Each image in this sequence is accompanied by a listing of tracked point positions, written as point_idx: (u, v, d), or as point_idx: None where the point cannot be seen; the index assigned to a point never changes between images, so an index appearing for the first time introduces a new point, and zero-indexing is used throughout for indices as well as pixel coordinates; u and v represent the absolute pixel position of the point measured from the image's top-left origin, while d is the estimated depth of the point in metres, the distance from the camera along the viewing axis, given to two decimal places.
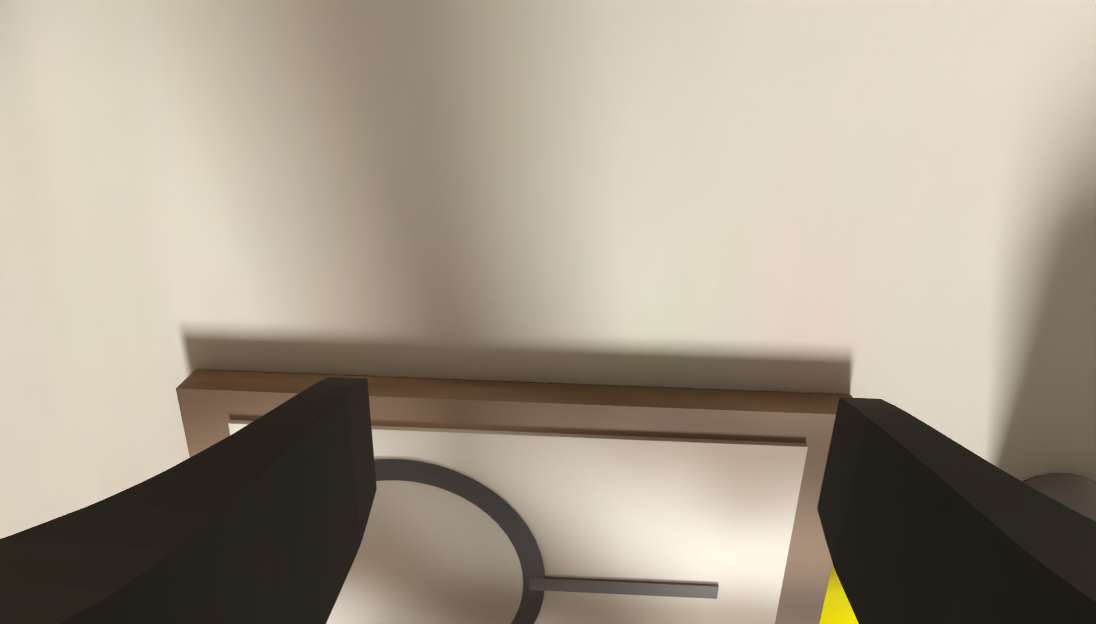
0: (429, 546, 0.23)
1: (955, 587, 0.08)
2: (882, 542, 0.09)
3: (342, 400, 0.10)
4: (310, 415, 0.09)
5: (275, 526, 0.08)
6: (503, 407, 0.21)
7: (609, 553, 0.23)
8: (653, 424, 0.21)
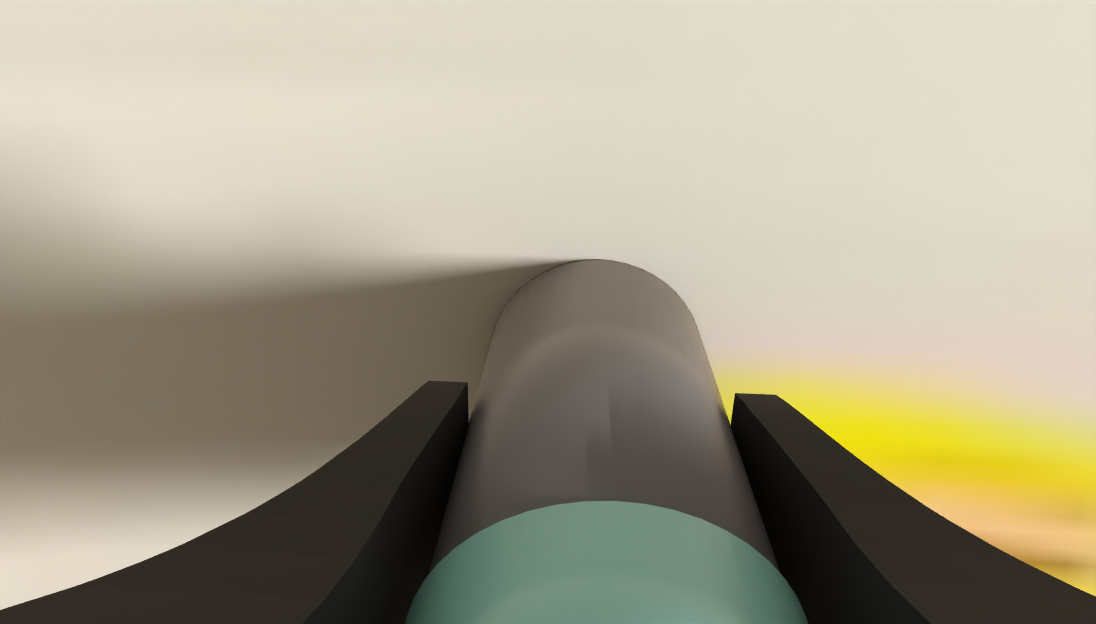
0: None
1: (810, 580, 0.08)
2: None
3: (454, 404, 0.10)
4: (428, 420, 0.09)
5: (410, 532, 0.08)
6: None
7: None
8: None
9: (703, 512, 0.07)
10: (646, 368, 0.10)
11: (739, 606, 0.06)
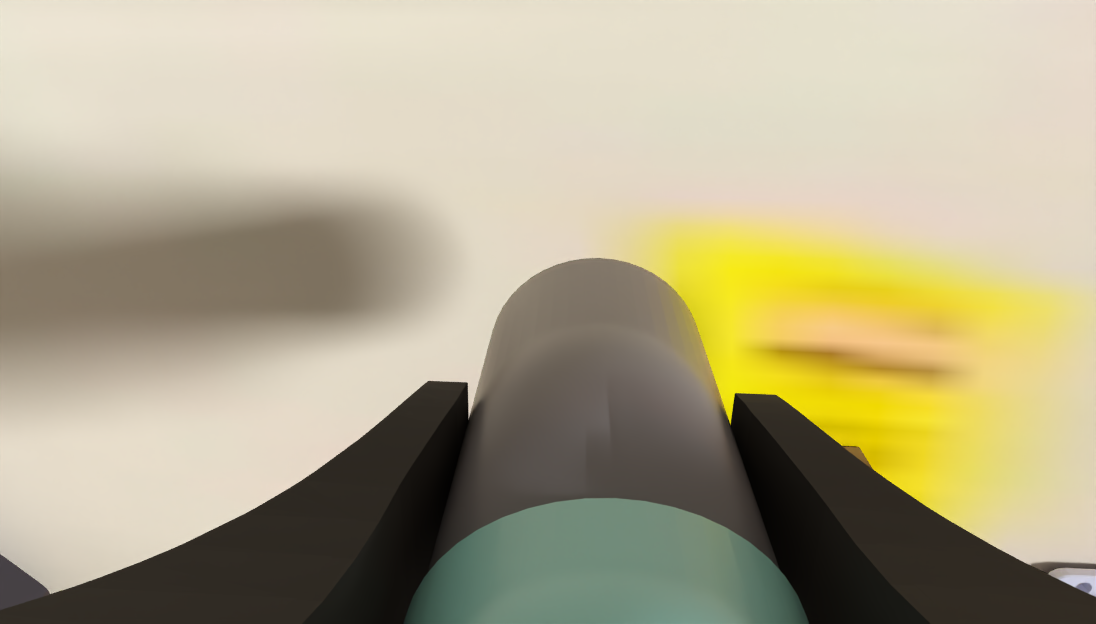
0: None
1: (810, 580, 0.08)
2: None
3: (454, 404, 0.10)
4: (428, 420, 0.09)
5: (410, 532, 0.08)
6: None
7: None
8: None
9: (703, 509, 0.07)
10: (645, 364, 0.10)
11: (739, 603, 0.06)
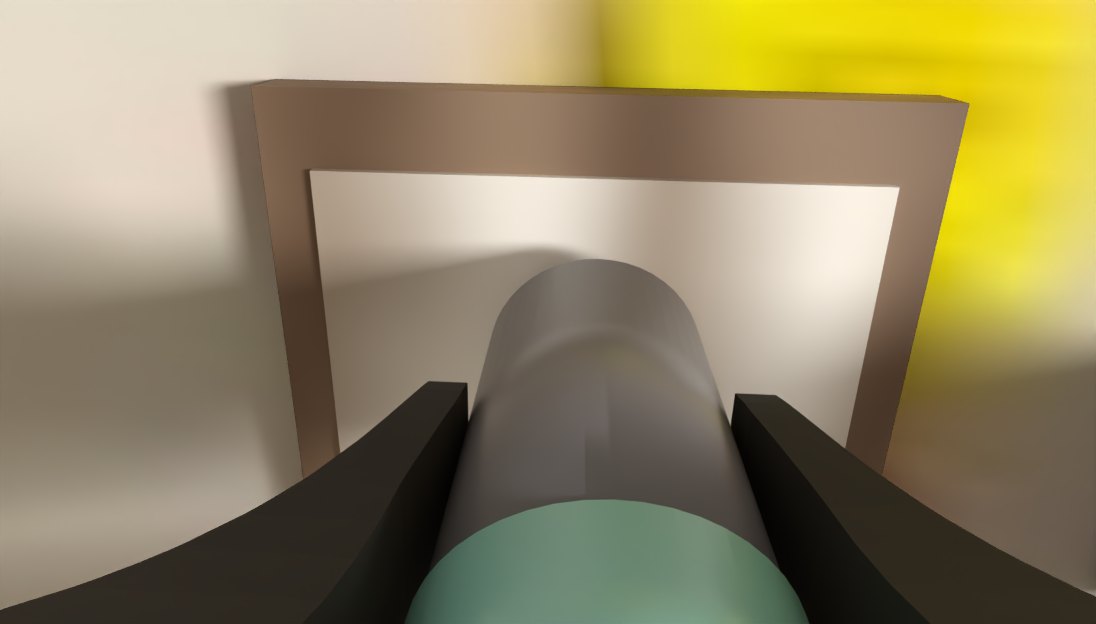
0: None
1: (810, 580, 0.08)
2: None
3: (454, 405, 0.10)
4: (428, 420, 0.09)
5: (410, 532, 0.08)
6: None
7: None
8: (315, 374, 0.16)
9: (702, 509, 0.07)
10: (644, 366, 0.10)
11: (738, 603, 0.06)
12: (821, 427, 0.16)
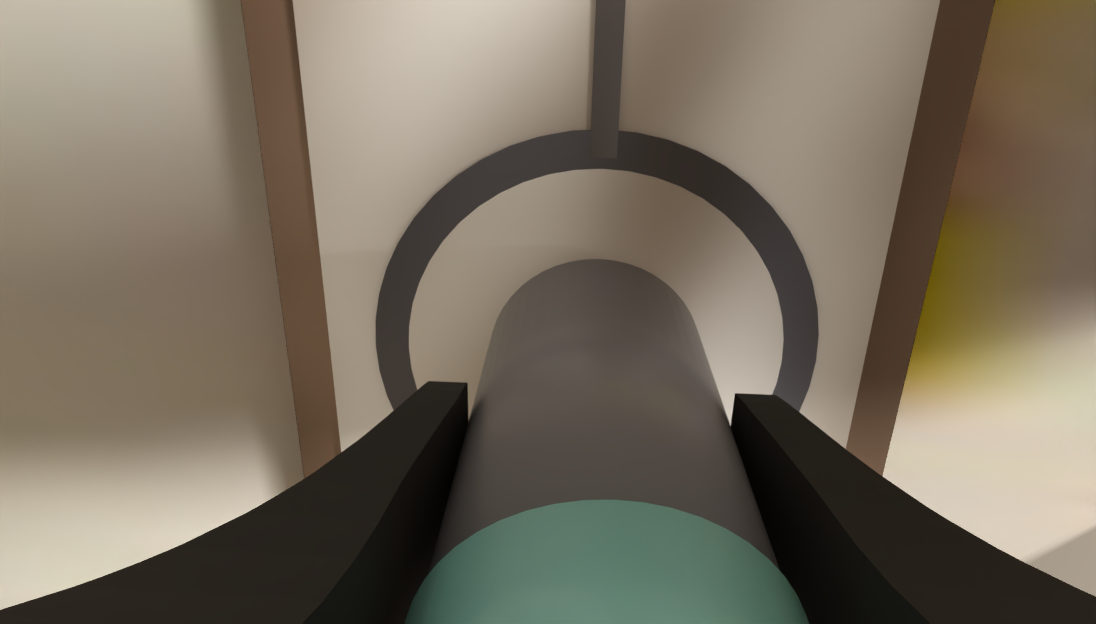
0: None
1: (810, 580, 0.08)
2: None
3: (454, 405, 0.10)
4: (428, 420, 0.09)
5: (410, 532, 0.08)
6: (275, 187, 0.14)
7: (534, 8, 0.13)
8: None
9: (702, 510, 0.07)
10: (644, 366, 0.10)
11: (738, 604, 0.06)
12: None
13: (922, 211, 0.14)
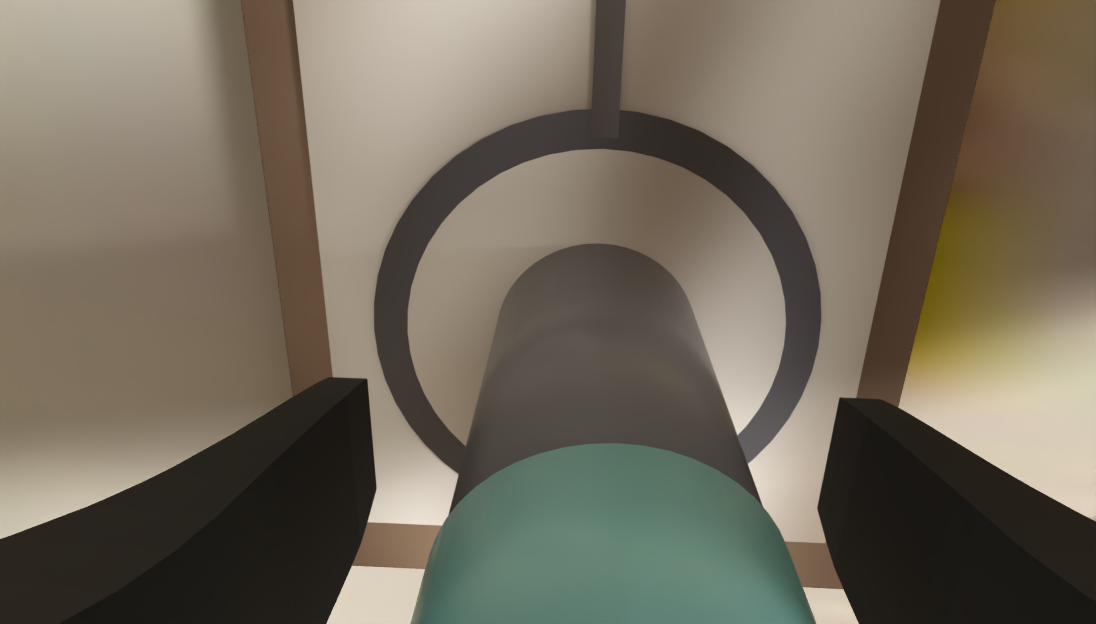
0: None
1: (955, 587, 0.08)
2: (882, 542, 0.09)
3: (342, 400, 0.10)
4: (310, 415, 0.09)
5: (275, 526, 0.08)
6: (273, 168, 0.14)
7: None
8: None
9: (695, 455, 0.08)
10: (642, 336, 0.10)
11: (725, 527, 0.07)
12: None
13: (926, 192, 0.14)
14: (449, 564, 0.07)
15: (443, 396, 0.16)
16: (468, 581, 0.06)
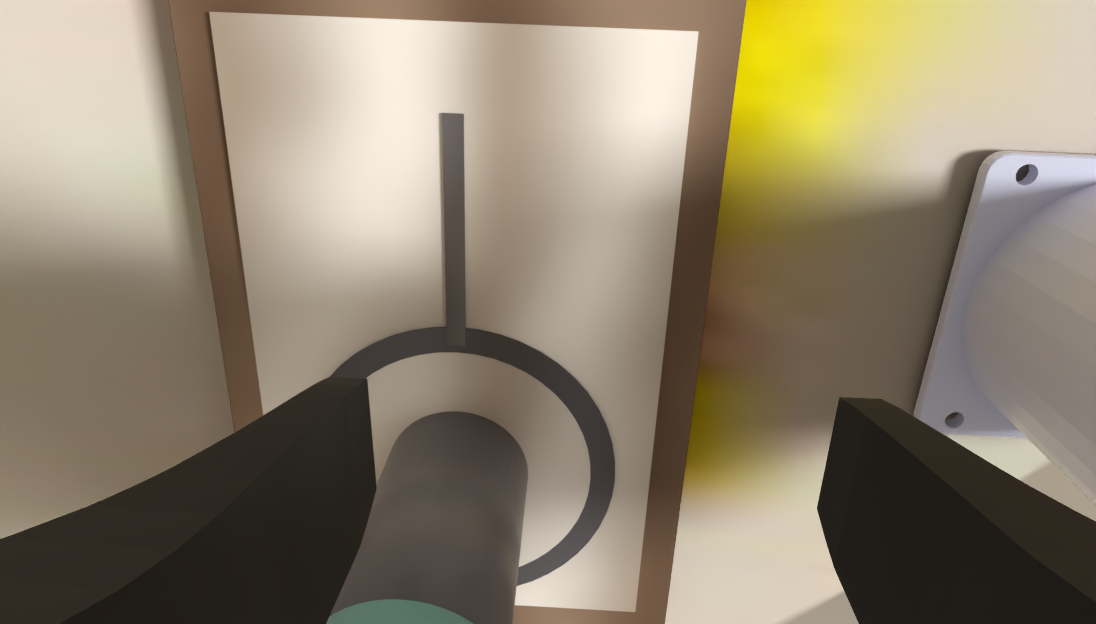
0: None
1: (955, 587, 0.08)
2: (883, 542, 0.09)
3: (342, 400, 0.10)
4: (310, 415, 0.09)
5: (275, 526, 0.08)
6: (229, 356, 0.20)
7: (404, 252, 0.19)
8: (221, 202, 0.19)
9: (449, 602, 0.14)
10: (453, 506, 0.17)
11: None
12: (650, 251, 0.18)
13: (680, 381, 0.20)
14: None
15: None
16: None
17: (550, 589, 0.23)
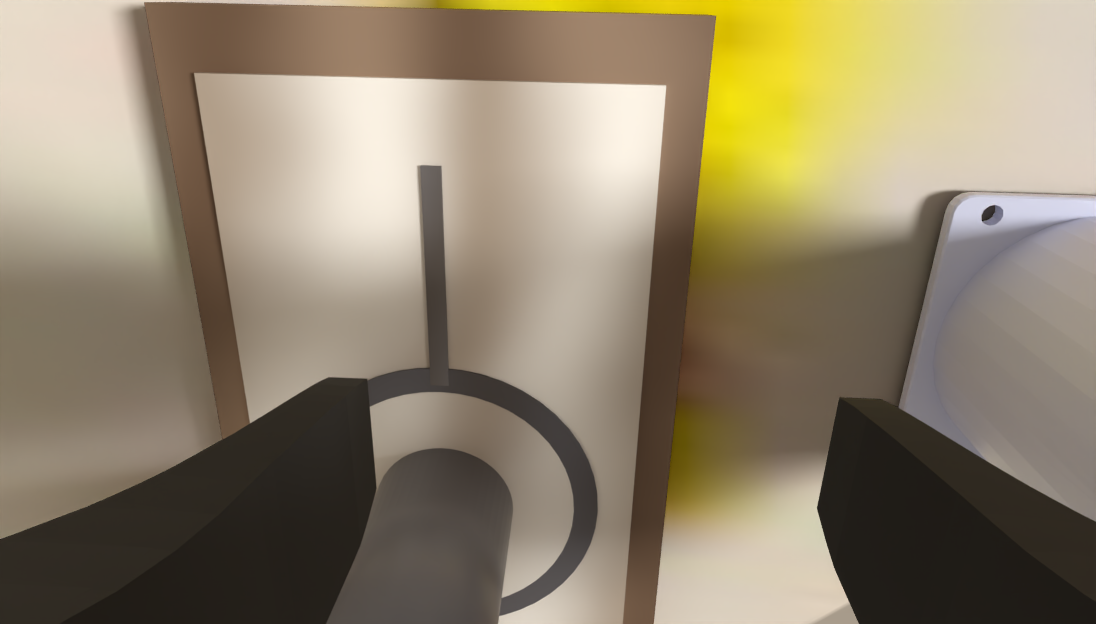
0: None
1: (955, 587, 0.08)
2: (882, 542, 0.09)
3: (342, 400, 0.10)
4: (310, 415, 0.09)
5: (275, 526, 0.08)
6: (221, 396, 0.21)
7: (387, 297, 0.19)
8: (210, 251, 0.19)
9: None
10: (434, 547, 0.17)
11: None
12: (626, 294, 0.19)
13: (659, 417, 0.21)
14: None
15: None
16: None
17: (538, 617, 0.23)
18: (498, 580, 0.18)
